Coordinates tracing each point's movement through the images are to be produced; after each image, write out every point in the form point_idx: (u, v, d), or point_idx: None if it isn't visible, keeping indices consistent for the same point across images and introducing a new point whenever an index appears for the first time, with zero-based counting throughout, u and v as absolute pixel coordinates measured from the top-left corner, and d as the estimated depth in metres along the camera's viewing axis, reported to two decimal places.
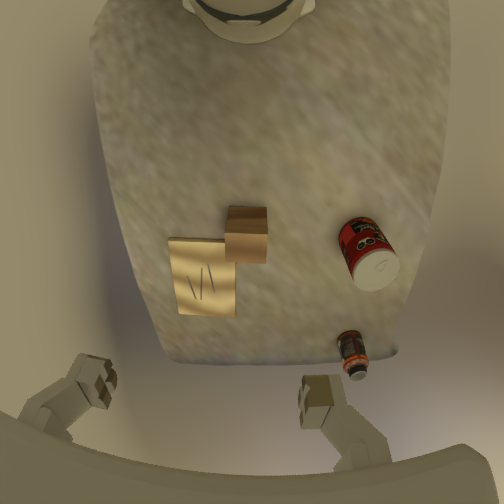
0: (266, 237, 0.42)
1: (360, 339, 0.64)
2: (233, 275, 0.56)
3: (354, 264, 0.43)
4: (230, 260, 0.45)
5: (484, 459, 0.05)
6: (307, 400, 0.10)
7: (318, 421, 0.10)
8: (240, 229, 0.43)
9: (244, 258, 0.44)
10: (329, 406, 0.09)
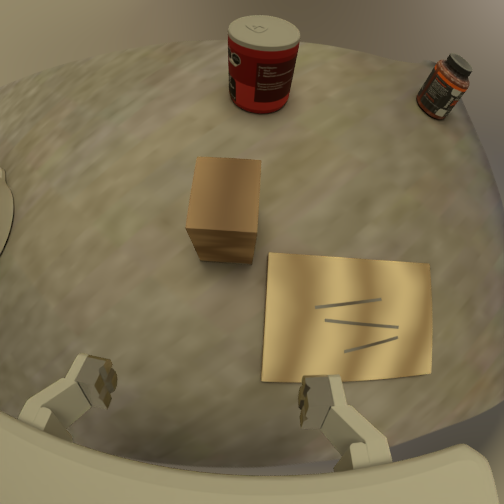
0: (203, 158, 0.22)
1: (422, 86, 0.36)
2: (339, 260, 0.29)
3: (256, 51, 0.25)
4: (253, 220, 0.21)
5: (484, 459, 0.05)
6: (307, 400, 0.10)
7: (318, 421, 0.10)
8: None
9: (248, 195, 0.22)
10: (329, 406, 0.09)
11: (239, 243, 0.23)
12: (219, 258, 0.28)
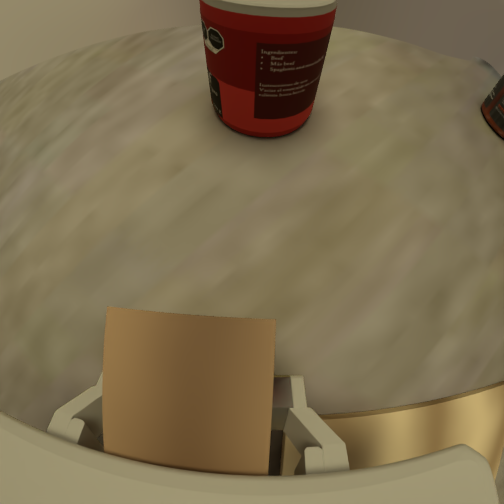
0: (121, 313, 0.08)
1: (490, 93, 0.21)
2: (401, 415, 0.14)
3: (254, 19, 0.11)
4: None
5: (484, 459, 0.05)
6: None
7: (279, 422, 0.10)
8: None
9: (241, 427, 0.07)
10: (288, 407, 0.09)
11: None
12: None
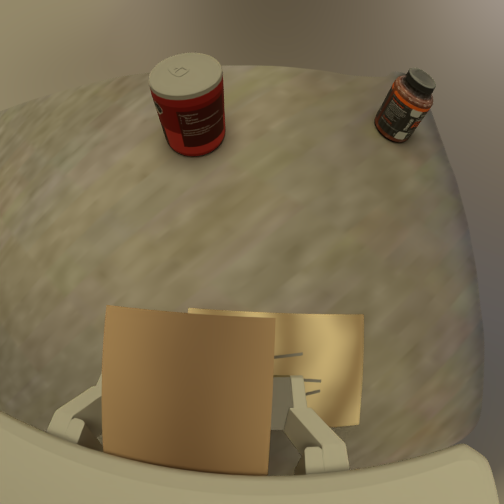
0: (120, 312, 0.08)
1: (381, 106, 0.37)
2: (258, 315, 0.29)
3: (172, 101, 0.26)
4: None
5: (484, 459, 0.05)
6: None
7: (279, 422, 0.10)
8: None
9: (241, 426, 0.07)
10: (288, 407, 0.09)
11: None
12: None
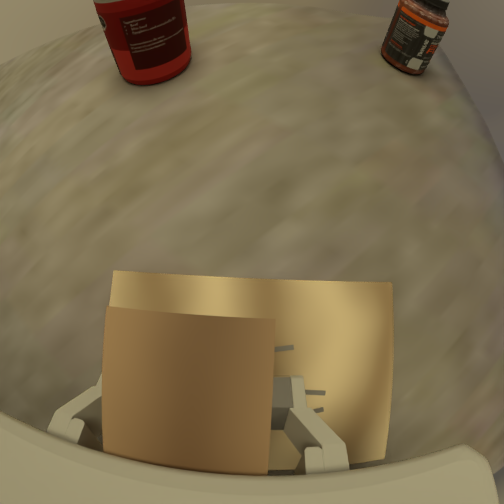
0: (120, 312, 0.08)
1: None
2: (219, 282, 0.18)
3: (113, 4, 0.15)
4: None
5: (484, 459, 0.05)
6: None
7: (279, 422, 0.10)
8: None
9: (241, 427, 0.07)
10: (288, 407, 0.09)
11: None
12: None
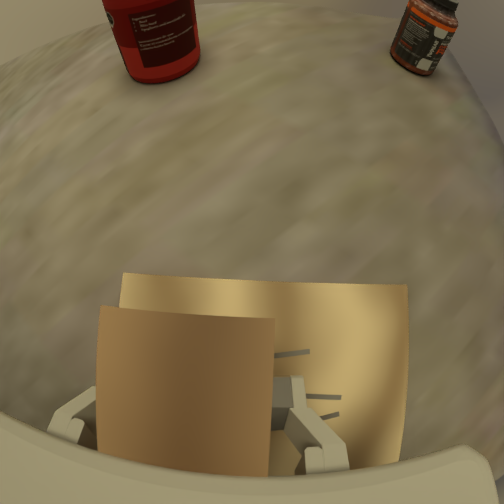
0: (114, 312, 0.08)
1: (396, 34, 0.25)
2: (234, 284, 0.17)
3: (121, 0, 0.14)
4: None
5: (484, 459, 0.05)
6: None
7: (279, 422, 0.10)
8: None
9: (239, 432, 0.07)
10: (288, 407, 0.09)
11: None
12: None
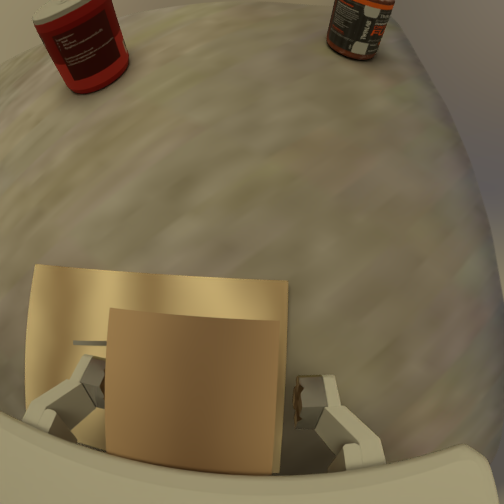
0: (124, 314, 0.08)
1: None
2: (112, 275, 0.18)
3: (45, 25, 0.15)
4: None
5: (484, 459, 0.05)
6: (301, 400, 0.10)
7: (312, 421, 0.10)
8: None
9: (245, 428, 0.07)
10: (323, 406, 0.09)
11: None
12: None
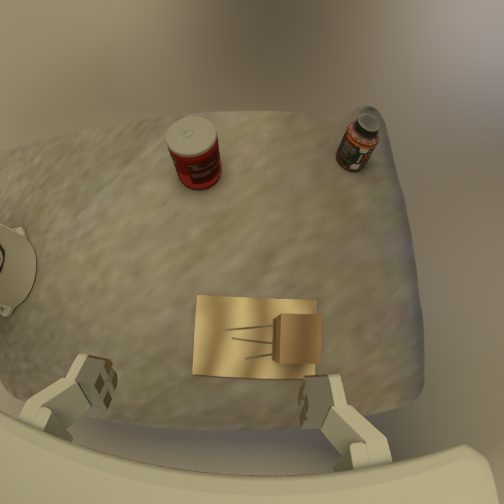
0: (285, 314, 0.35)
1: None
2: (243, 299, 0.45)
3: (183, 157, 0.41)
4: (318, 356, 0.34)
5: (484, 459, 0.05)
6: (307, 400, 0.10)
7: (318, 421, 0.10)
8: (278, 345, 0.35)
9: (315, 340, 0.34)
10: (329, 406, 0.09)
11: None
12: None
